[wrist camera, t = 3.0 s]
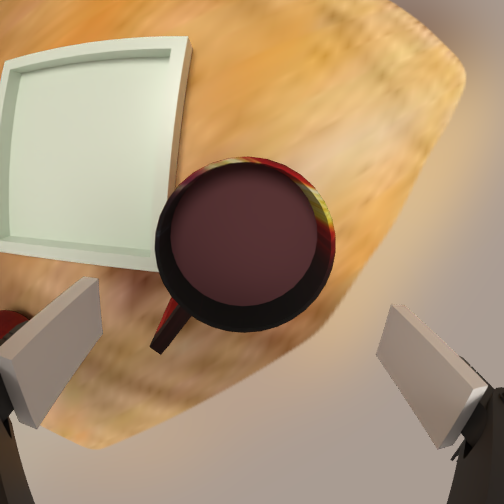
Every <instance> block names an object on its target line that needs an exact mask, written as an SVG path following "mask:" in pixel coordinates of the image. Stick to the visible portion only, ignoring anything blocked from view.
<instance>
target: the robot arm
mask: <svg viewBox="0 0 504 504" xmlns="http://www.w3.org/2000/svg"><path fill="white" fill-rule="evenodd" d="M102 334H103V330H102V320H101V309H100V297H99V281H98V278H91V277H82V278H81V279H80V280H78V281H77V282H76V283H75V284H73V285H72V286H71V287H70V288H68V289H67V290H66V291H65V292H63V293H62V294H61V295H60V296H58V297H57V298H56V299H55V300H53V301H52V302H51V303H50V304H49V305H47V306H46V307H45V308H44V309H43V310H41V311H40V312H39V313H38V314H37V315H35V316H34V317H33V318H32V319H31V320H30V321H28V320H27V321H25V322H23V323H20V324H18V325H16V326H15V327H14V328H13V329H12V330H10V331H9V333H7V334H6V335H5V336H3V339H0V504H35V503H34V501H33V497H32V495H31V492H30V489H29V486H28V483H27V480H26V477H25V474H24V470H23V467H22V463H21V460H20V456H19V452H18V448H17V444H16V440H15V436H14V431H13V426H12V423H11V420H10V418H9V415H10V414H11V412H12V411H13V410H14V411H15V413H16V416H17V418H18V420H19V422H21V423H23V424H25V425H28V426H30V427H32V428H35V429H38V427H39V426H40V424H41V422H42V421H43V419H44V418H45V416H46V415H47V413H48V412H49V410H50V409H51V407H52V405H53V404H54V402H55V401H56V399H57V398H58V396H59V395H60V393H61V392H62V391H63V389H64V388H65V386H66V385H67V383H68V382H69V380H70V379H71V377H72V376H73V374H74V373H75V372H76V370H77V369H78V367H79V366H80V364H81V363H82V362H83V360H84V359H85V357H86V356H87V355H88V353H89V352H90V350H91V349H92V348H93V346H94V345H95V344H96V342H97V341H98V339H99V338H100V337H101V335H102ZM376 356H377V357H378V359H379V360H380V362H381V363H382V365H383V366H384V368H385V369H386V370H387V372H388V373H389V375H390V377H391V378H392V379H393V381H394V382H395V384H396V386H397V387H398V389H399V390H400V391H401V393H402V395H403V396H404V398H405V399H406V401H407V402H408V404H409V405H410V407H411V408H412V410H413V411H414V413H415V415H416V416H417V418H418V419H419V421H420V422H421V424H422V425H423V427H424V428H425V430H426V432H427V433H428V435H429V437H430V438H431V440H432V441H433V443H434V445H435V446H436V448H437V449H441V448H445V447H448V446H451V445H453V444H454V443H455V441H456V440H457V438H458V436H459V435H460V434H462V435H463V436H464V437H465V439H464V441H463V442H462V444H461V445H460V446H459V448H458V450H457V451H456V452H455V454H454V455H453V456H452V458H451V460H452V461H453V460H454V459H455V457H456V456H458V455H459V456H458V460H457V465H456V470H455V474H454V479H453V483H452V487H451V490H450V494H449V498H448V501H447V504H504V388H502V387H501V388H496V389H494V388H493V387H492V386H491V385H490V384H489V383H488V382H486V380H485V379H484V378H483V377H482V376H481V375H480V374H479V373H478V372H476V370H475V369H474V368H473V367H470V364H469V363H468V362H467V361H466V360H465V359H464V358H462V357H460V356H459V355H457V354H456V353H455V352H454V351H453V350H452V349H451V348H450V347H449V346H448V345H447V344H446V343H445V342H444V341H443V340H442V339H441V338H440V337H438V335H437V334H435V333H434V332H433V331H432V330H431V329H430V328H429V327H428V326H427V325H426V324H425V323H424V322H423V321H422V320H420V319H419V318H418V317H417V316H416V315H415V314H414V313H413V312H412V311H410V309H408V308H407V307H406V306H405V305H395V304H391V307H390V310H389V314H388V317H387V321H386V324H385V327H384V331H383V334H382V337H381V340H380V343H379V347H378V350H377V353H376Z"/></svg>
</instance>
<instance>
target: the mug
mask: <svg viewBox="0 0 504 504" xmlns="http://www.w3.org/2000/svg"><path fill="white" fill-rule="evenodd" d="M155 256H156V263H157V268H158V271H159V273H160V276H161V279H162V281H163V284H164V285H165V287H166V288H167V290H168V292H169V293H170V295H171V296H172V297H171V299H170V301H169V303H168V306H167V308H166V310H165V312H164V314H163V317H162V320H161V322H160V324H159V326H158V329H157V331H156V333H155V335H154V338H153V340H152V342H151V345H150V348H152V349H153V350H155V351H156V352H158V353H159V354H160V355H161V354H162V353H163V351H164V350H165V349H166V348H167V347H168V346H169V344H170V343H171V342H172V341H173V339H174V338H175V337H176V335H177V334H178V333H179V331H180V330H181V329H182V327H183V326H184V325H185V324H186V322H187V321H188V320H189V318H190V317H191V316H193V317H194V318H195V319H197V320H199V321H201V322H203V323H205V324H207V325H209V326H211V327H215V328H218V329H222V330H226V331H232V332H243V333H246V332H257V331H263V330H267V329H271V328H274V327H278V326H280V325H282V324H284V323H286V322H288V321H290V320H292V319H294V318H295V317H296V316H298V315H299V314H301V313H302V312H303V311H305V310H306V309H307V308H308V307H309V306H310V305H311V304H312V303H313V302H314V300H315V299H316V298H317V297H318V295H319V294H320V292H321V291H322V289H323V288H324V286H325V285H326V283H327V280H328V278H329V275H330V273H331V270H332V267H333V262H334V257H335V231H334V226H333V221H332V217H331V215H330V213H329V210H328V208H327V206H326V203H325V201H324V200H323V199H322V197H321V196H320V194H319V193H318V192H317V190H316V189H315V187H314V186H313V185H311V184H310V183H309V182H308V181H307V180H306V179H305V178H304V177H303V176H302V175H300V174H299V173H297V172H295V171H294V170H292V169H290V168H289V167H287V166H285V165H283V164H280V163H277V162H274V161H271V160H268V159H263V158H255V157H236V158H228V159H224V160H221V161H217V162H214V163H210V164H209V165H207V166H205V167H203V168H201V169H199V170H197V171H195V172H194V173H192V174H191V175H190V176H189V177H188V178H186V179H185V180H184V181H183V182H182V183H180V184H179V185H178V187H177V188H176V189H175V191H174V192H173V193H172V194H171V196H170V197H169V198H168V200H167V202H166V204H165V206H164V208H163V210H162V212H161V214H160V216H159V220H158V224H157V228H156V232H155Z"/></svg>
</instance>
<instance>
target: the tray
mask: <svg viewBox="0 0 504 504" xmlns="http://www.w3.org/2000/svg"><path fill="white" fill-rule="evenodd" d="M192 49H193V48H192V46H191V43H190V40H189V38H188V36H162V37H139V38H126V39H115V40H106V41H97V42H90V43H83V44H77V45H71V46H66V47H60V48H55V49H50V50H46V51H41V52H37V53H33V54H29V55H25V56H21V57H18V58H14V59H11V60H7V61H5V63H4V67H3V72H2V76H1V81H0V252H5V253H11V254H18V255H25V256H32V257H39V258H47V259H54V260H62V261H69V262H77V263H85V264H93V265H101V266H110V267H118V268H127V269H135V270H144V271H153V272H159V271H158V268H157V263H156V256H155V232H156V228H157V224H158V220H159V216H160V214H161V212H162V210H163V208H164V206H165V204H166V202H167V200H168V198H169V197H170V196H171V194H172V193H173V192H174V191H175V181H176V170H177V160H178V150H179V140H180V132H181V123H182V115H183V108H184V100H185V93H186V86H187V80H188V73H189V67H190V61H191V55H192Z"/></svg>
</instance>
